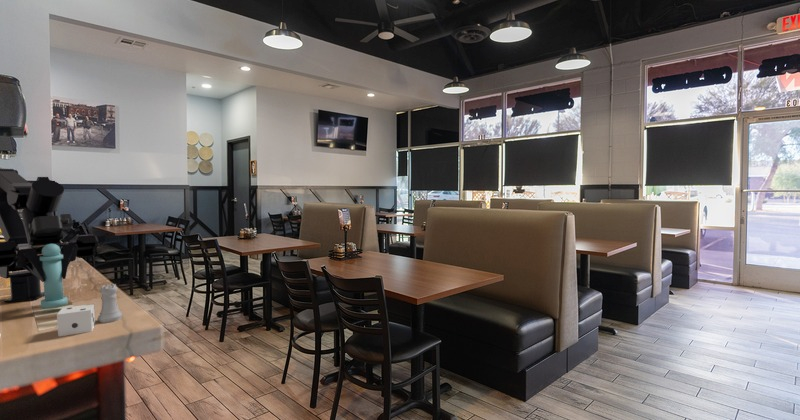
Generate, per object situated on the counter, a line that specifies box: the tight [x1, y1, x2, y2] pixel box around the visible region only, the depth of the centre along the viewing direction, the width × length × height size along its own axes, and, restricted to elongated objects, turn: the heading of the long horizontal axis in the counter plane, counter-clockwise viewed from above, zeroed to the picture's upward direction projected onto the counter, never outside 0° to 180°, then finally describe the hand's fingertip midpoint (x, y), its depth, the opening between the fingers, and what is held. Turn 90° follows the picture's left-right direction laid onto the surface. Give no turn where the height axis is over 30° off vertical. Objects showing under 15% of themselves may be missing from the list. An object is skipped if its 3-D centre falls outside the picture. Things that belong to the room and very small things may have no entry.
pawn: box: [40, 244, 69, 309], centre depth 92 cm, size 5×5×14 cm
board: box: [31, 299, 75, 332], centre depth 91 cm, size 24×7×1 cm, turn 44°
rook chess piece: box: [97, 283, 124, 324], centre depth 85 cm, size 4×4×8 cm
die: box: [57, 303, 96, 338], centre depth 80 cm, size 5×5×5 cm
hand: (54, 279), depth 91 cm, fingers closed on pawn, 3 cm apart
